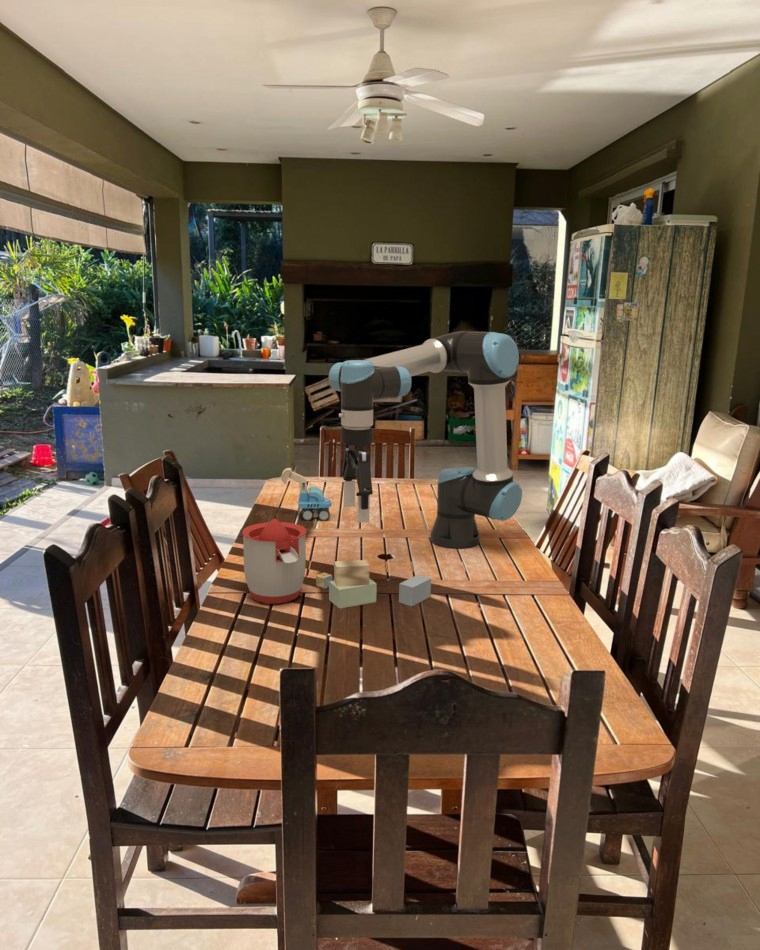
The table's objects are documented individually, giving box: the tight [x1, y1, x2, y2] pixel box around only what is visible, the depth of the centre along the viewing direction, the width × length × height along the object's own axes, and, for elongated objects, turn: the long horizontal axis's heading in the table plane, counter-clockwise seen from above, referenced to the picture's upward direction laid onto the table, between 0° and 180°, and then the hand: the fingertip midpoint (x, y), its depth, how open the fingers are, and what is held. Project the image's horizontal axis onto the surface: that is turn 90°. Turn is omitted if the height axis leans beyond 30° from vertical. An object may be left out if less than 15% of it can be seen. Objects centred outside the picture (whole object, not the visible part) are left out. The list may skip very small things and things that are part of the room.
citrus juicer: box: [241, 518, 308, 605], centre depth 185 cm, size 16×17×20 cm
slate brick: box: [398, 574, 432, 607], centre depth 187 cm, size 8×4×5 cm, turn 143°
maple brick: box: [333, 559, 370, 587], centre depth 184 cm, size 8×4×5 cm, turn 101°
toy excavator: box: [281, 467, 332, 522], centre depth 254 cm, size 9×17×17 cm, turn 95°
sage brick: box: [328, 577, 378, 609], centre depth 186 cm, size 10×6×5 cm, turn 117°
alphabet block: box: [315, 572, 333, 589], centre depth 195 cm, size 3×3×3 cm
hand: (356, 514), depth 182 cm, fingers open, 13 cm apart
